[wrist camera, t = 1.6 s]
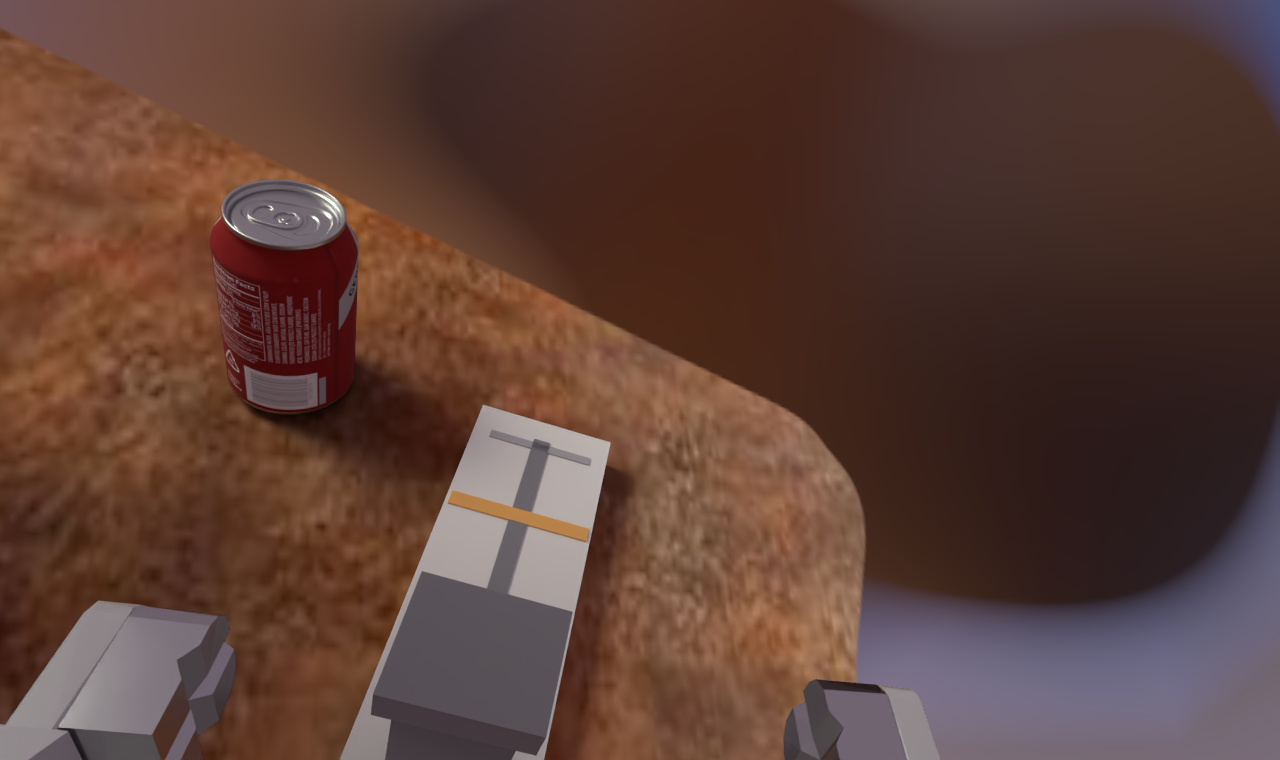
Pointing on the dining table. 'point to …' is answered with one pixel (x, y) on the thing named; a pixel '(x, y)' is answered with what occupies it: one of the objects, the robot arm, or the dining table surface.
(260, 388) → the soda can
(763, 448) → the dining table surface
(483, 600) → the slider knob
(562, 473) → the slider box
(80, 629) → the robot arm
